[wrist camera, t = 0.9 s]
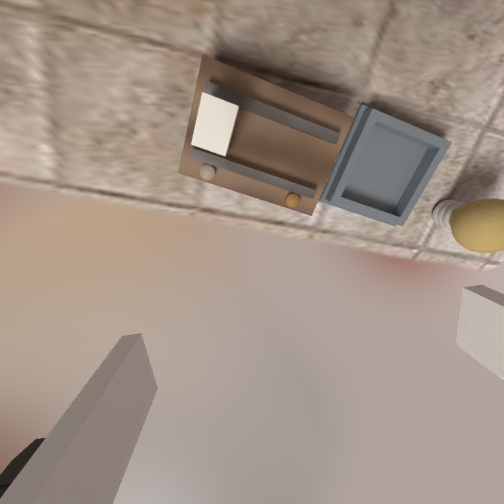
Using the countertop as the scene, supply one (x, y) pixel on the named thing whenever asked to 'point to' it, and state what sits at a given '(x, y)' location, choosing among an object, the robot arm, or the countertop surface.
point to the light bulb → (473, 223)
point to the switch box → (266, 140)
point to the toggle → (214, 124)
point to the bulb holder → (383, 167)
